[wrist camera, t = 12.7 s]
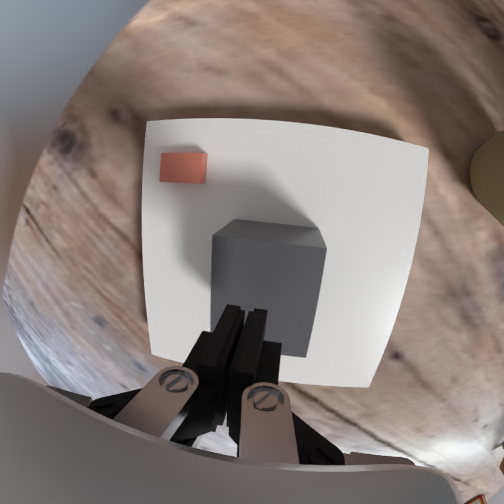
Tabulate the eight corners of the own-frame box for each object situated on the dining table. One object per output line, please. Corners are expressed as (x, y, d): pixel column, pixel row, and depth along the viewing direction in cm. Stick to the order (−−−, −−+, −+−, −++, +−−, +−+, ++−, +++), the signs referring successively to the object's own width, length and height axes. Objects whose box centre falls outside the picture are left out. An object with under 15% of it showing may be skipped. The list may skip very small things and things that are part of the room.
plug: (242, 213, 21) (212, 235, 13) (315, 221, 20) (327, 248, 13) (235, 315, 23) (210, 372, 16) (300, 324, 23) (298, 386, 15)
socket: (412, 151, 17) (435, 147, 14) (363, 367, 23) (370, 394, 19) (164, 126, 20) (139, 119, 16) (164, 338, 26) (147, 360, 22)
